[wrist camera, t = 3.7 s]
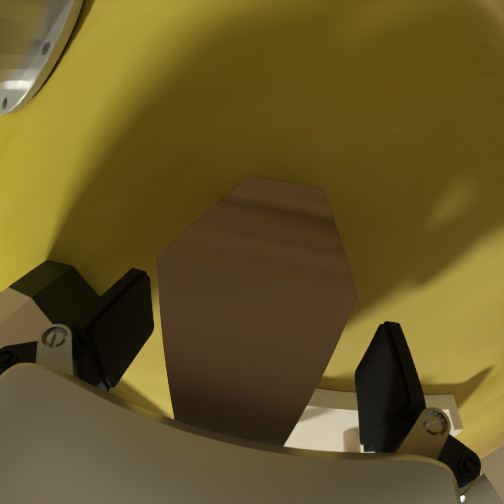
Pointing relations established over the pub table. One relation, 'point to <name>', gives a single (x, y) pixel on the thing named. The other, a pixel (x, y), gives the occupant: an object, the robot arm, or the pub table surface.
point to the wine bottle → (42, 302)
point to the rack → (348, 421)
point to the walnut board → (253, 309)
